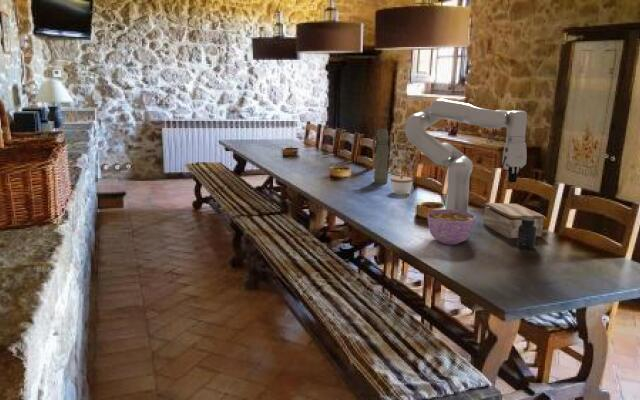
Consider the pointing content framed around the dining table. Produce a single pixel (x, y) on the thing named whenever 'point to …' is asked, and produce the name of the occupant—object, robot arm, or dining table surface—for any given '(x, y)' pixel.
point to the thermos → (381, 156)
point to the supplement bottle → (527, 234)
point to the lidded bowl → (401, 184)
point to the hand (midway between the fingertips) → (512, 181)
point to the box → (508, 223)
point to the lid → (514, 210)
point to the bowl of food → (450, 225)
